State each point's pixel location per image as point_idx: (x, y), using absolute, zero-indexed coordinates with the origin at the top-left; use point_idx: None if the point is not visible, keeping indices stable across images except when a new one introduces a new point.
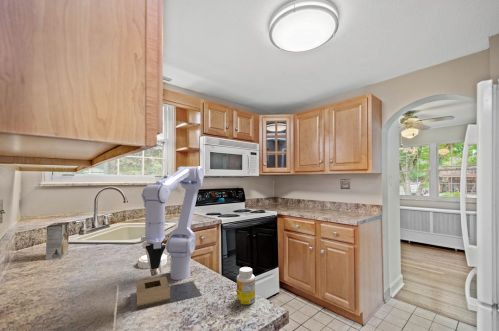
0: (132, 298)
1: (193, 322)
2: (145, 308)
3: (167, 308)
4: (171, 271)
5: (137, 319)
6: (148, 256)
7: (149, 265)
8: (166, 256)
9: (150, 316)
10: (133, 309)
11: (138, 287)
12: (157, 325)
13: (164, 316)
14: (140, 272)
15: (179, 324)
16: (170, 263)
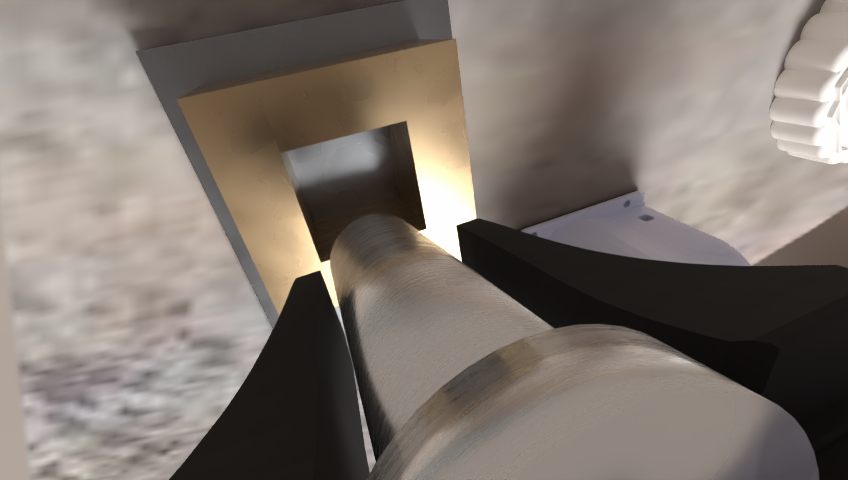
0: (363, 22)
1: (66, 408)
2: (191, 150)
3: (232, 263)
4: (594, 246)
5: (93, 109)
6: (368, 327)
7: (361, 254)
8: (843, 161)
9: (136, 187)
10: (181, 63)
11: (320, 85)
12: (18, 249)
13: (134, 266)
14: (768, 6)
15: (40, 355)
16: (689, 232)
